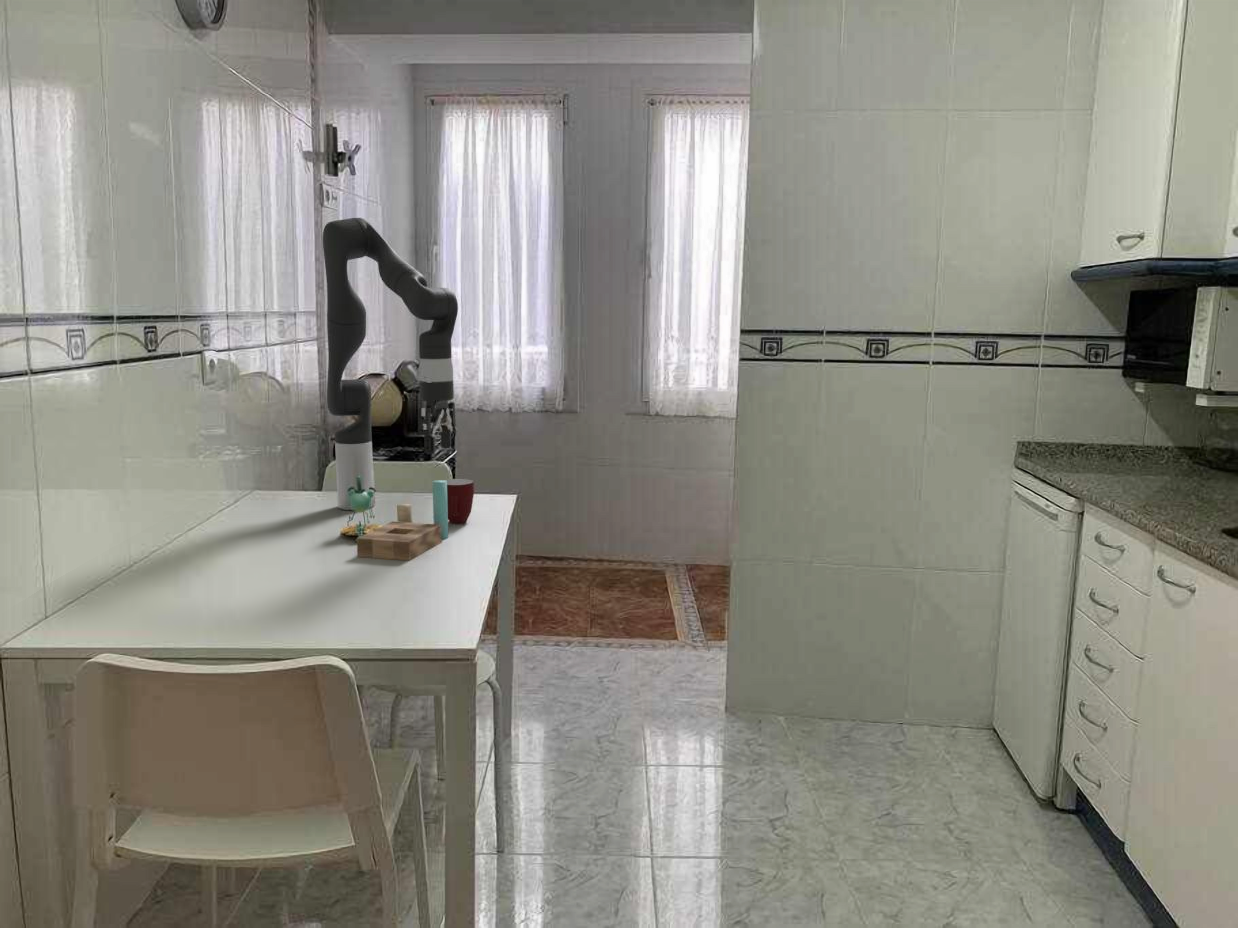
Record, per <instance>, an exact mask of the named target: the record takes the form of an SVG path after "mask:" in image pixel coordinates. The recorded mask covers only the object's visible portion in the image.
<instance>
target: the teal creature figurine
mask: <svg viewBox="0 0 1238 928" xmlns="http://www.w3.org/2000/svg"><path fill="white" fill-rule="evenodd" d="M356 480H357V488H358V490H356V489H355V491H353V490H351V489H354V487H350V488H349V489H348V492H349V491H350V490H351V491H350V492H349V496H350V503H349V505H348V506H349V507H348V506H347V508H346V509H348V510H347V511H350V510H349V508H350V506H351V507H352V509H353V510H352V511H353V514H352V516H350V515H348V521H347V526H345V527H342V529H341V530H340V531H339V532H340V533H341V534H343V535H346V536H356V538H355V539H354V541H356V542H357V538H358V537H360V536H363V535H365V534H367V533H369V532H371V531H373V530H375V529H378V528H380V527H382V525H380V524H374V523H373V524H370V523H371V521H370V520H369V518H370V519H371V518H372V519H373V520H374V519H375V515H374V513H373V511H372V510H373V509H372V507H371V498H372V497H373V492H372V491H369V492H368V493H367V492H365V488H363V490H362V486H361V477H360V476H357V477H356ZM371 489H372V490H373V491H374V492H375V493H376V491H377V489H374V488H373V487H370V488H369V490H371ZM370 507H371V508H370ZM368 510H369V515H368V512H367V511H368ZM356 512H357V513H359V514H360V513H362V515H363V516H362V517H363V523H364V524H361V523H362V522H361V520H358V522H359V524H354V525H349V523H350V521H353V520H354V516H355V514H356ZM365 514H366V516H367V524H366V518H365Z"/></svg>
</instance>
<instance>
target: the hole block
mask: <svg viewBox="0 0 1238 928" xmlns="http://www.w3.org/2000/svg"><path fill="white" fill-rule="evenodd" d="M356 539H357V541H356V549H357V557H358V558H359V557H360V558H372V559H373V558H374V559H382V560H384V559H385V560H394V561H395V560H398V561H409V562H410V561H412V560H413V559H415V558H417V557H418V556H420V555H422V554H423V553H425V552H426V551H429V550H431V549H432V548H434V547H436V546H437V545H439V544H441V543H442V542H443V539H442V529H441V525H437V524H434V523H421V522H412V523H408V522H398V521H391V522H388V523H386V524H384V525H381V527H380V528H378V529H375V530H373V531H371V532H369V533H367V534H364V535H363V536H360V537H358V538H357V537H356Z"/></svg>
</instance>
